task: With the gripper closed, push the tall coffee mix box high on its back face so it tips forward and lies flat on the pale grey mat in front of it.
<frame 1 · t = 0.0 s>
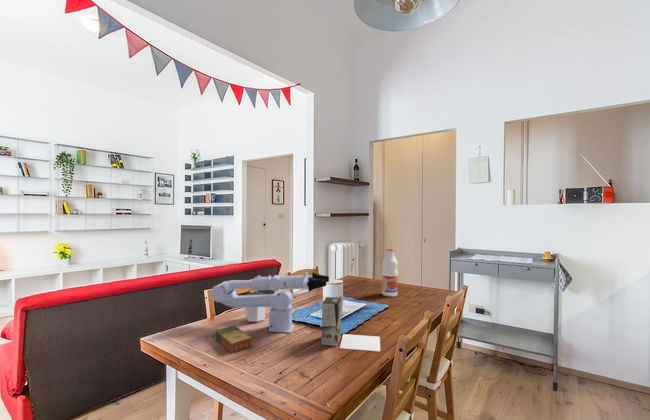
hand: (327, 280, 133), 22 cm above the table, tool horizontal, fingers open, 7 cm apart
jar: (255, 319, 147), on the table, touching arm
carton: (233, 344, 122), on the table
fruit juice: (389, 294, 191), on the table
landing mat: (360, 342, 123), on the table
coffee box: (331, 341, 125), on the table
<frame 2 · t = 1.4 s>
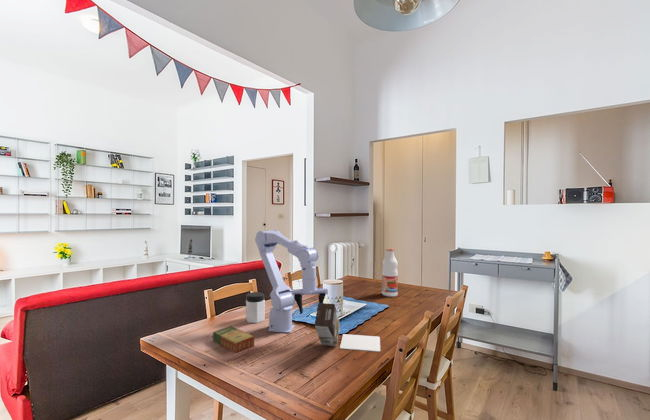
hand: (310, 312, 126), 11 cm above the table, tool pointing down, fingers open, 7 cm apart
jar: (255, 320, 147), on the table
coffee box: (330, 334, 124), point 3 cm above the table
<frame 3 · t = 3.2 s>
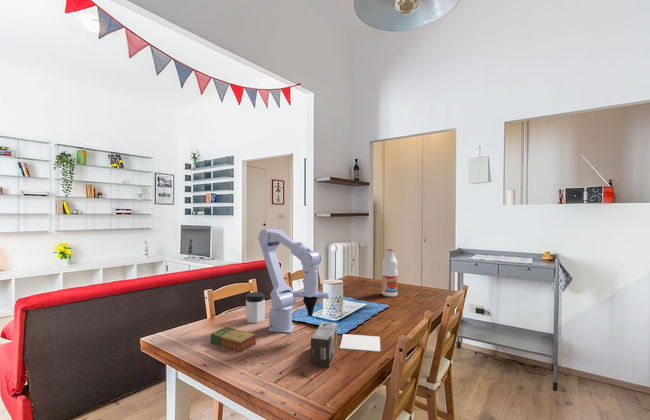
hand: (310, 315, 126), 9 cm above the table, tool pointing down, fingers closed
coffee box: (329, 333, 120), point 5 cm above the table
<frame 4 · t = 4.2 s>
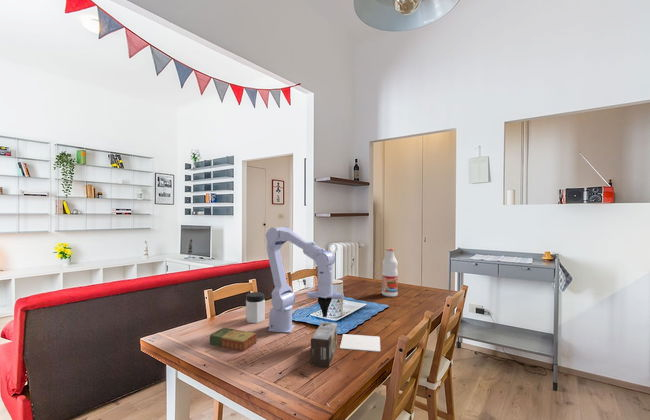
hand: (324, 316, 125), 9 cm above the table, tool pointing down, fingers closed
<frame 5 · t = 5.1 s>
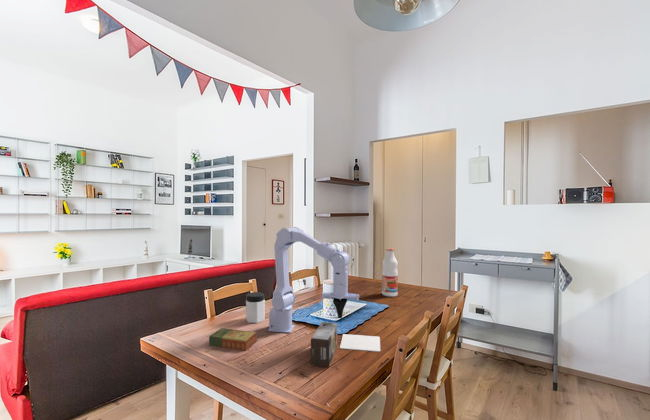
hand: (340, 317, 124), 9 cm above the table, tool pointing down, fingers closed
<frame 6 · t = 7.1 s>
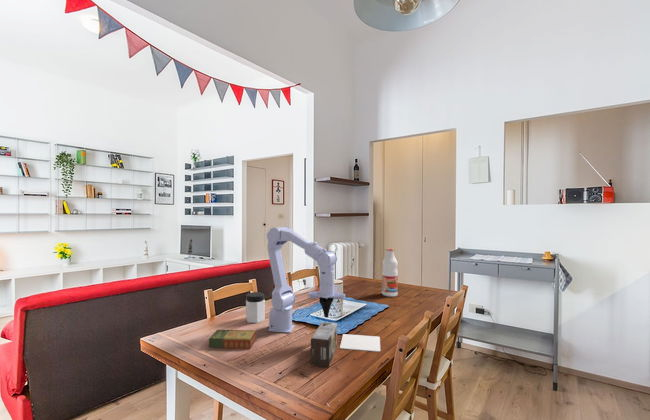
hand: (326, 316, 125), 9 cm above the table, tool pointing down, fingers closed
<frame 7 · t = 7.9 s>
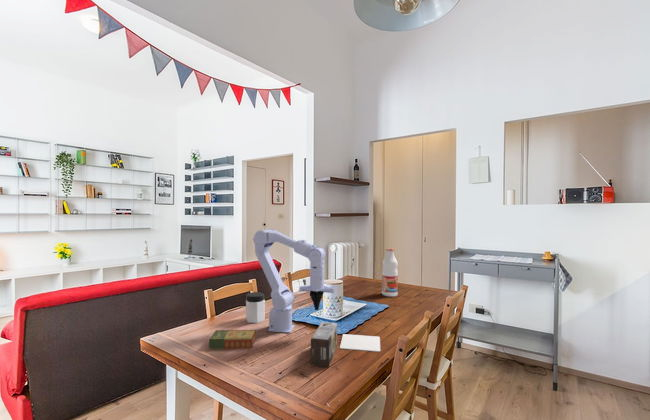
hand: (316, 309, 131), 10 cm above the table, tool pointing down, fingers closed
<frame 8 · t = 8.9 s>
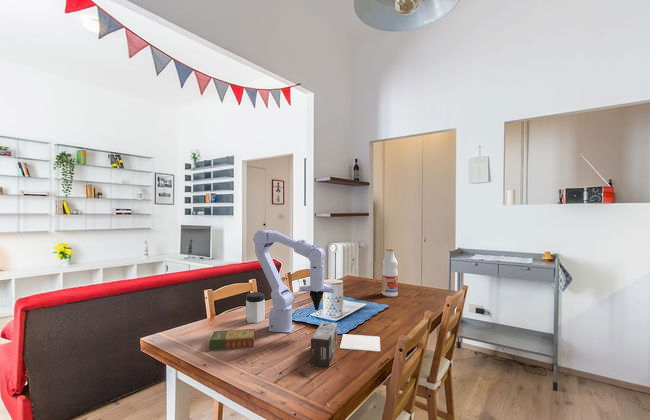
hand: (316, 309, 131), 10 cm above the table, tool pointing down, fingers closed
at the end: coffee box tilted 91°; coffee box inside the target area (7.2 cm from its centre), point 4.6 cm above the table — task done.
